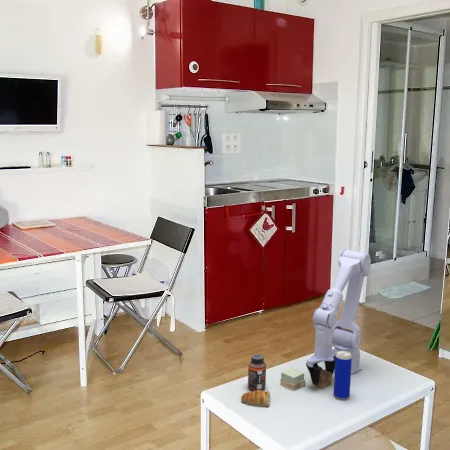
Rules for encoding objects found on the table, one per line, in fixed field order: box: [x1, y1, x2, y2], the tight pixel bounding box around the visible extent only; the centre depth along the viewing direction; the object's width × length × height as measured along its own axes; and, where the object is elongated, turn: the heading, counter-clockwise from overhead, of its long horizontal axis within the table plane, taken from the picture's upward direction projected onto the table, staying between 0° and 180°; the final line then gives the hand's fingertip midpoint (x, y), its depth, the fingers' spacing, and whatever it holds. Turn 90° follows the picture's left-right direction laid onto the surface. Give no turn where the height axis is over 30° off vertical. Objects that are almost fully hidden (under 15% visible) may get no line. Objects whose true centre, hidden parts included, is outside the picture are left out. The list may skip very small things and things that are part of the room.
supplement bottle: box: [247, 353, 267, 392], centre depth 183 cm, size 6×6×11 cm
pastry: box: [240, 390, 272, 408], centre depth 175 cm, size 9×7×4 cm
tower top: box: [280, 367, 305, 385], centre depth 186 cm, size 6×6×2 cm
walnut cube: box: [311, 368, 333, 390], centre depth 187 cm, size 4×4×4 cm
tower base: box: [279, 378, 306, 392], centre depth 186 cm, size 6×6×2 cm
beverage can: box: [333, 351, 352, 401], centre depth 178 cm, size 5×5×15 cm
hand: (321, 380), depth 187 cm, fingers open, 7 cm apart
